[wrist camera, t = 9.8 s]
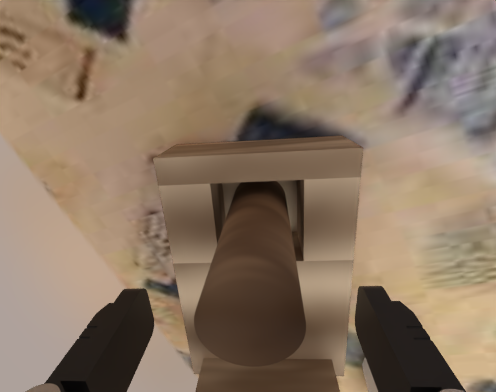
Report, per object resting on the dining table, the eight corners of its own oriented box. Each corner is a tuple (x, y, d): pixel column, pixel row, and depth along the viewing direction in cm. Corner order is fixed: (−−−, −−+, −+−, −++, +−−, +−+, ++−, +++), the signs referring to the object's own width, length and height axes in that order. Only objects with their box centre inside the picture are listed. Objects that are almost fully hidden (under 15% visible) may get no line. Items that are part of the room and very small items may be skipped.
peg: (235, 224, 22) (201, 365, 11) (231, 176, 20) (186, 281, 9) (286, 223, 21) (305, 367, 10) (285, 173, 20) (306, 280, 9)
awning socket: (170, 145, 20) (-68, 276, 6) (349, 135, 19) (599, 265, 5) (201, 333, 27) (124, 615, 12) (336, 333, 26) (426, 642, 11)
